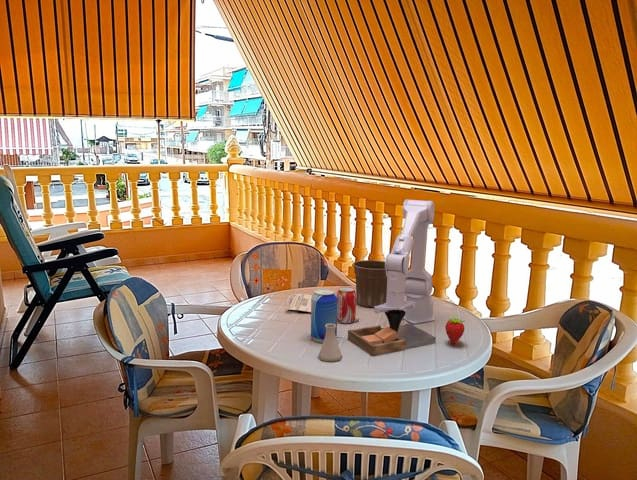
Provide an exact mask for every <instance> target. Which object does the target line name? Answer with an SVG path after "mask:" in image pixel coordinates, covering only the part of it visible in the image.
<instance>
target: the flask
mask: <svg viewBox="0 0 637 480" xmlns="http://www.w3.org/2000/svg"><path fill="white" fill-rule="evenodd" d="M325 327H326V335H325V339H324V342H323V343H322V345H321V348H320V351H319V353H318V355H317V358H318V359H319V360H321V362H322V361H323V362H331V363H332V362H338V361H341V359H342V358H343V354H342V352H341V349H340V346H339V343H338V339H337V336H336V335H335V328H336V325H335V324H326V325H325Z"/></svg>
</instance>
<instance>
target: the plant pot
mask: <svg viewBox="0 0 637 480" xmlns="http://www.w3.org/2000/svg"><path fill="white" fill-rule="evenodd" d="M352 265H353V268H354V269H353V270H354V271H353V272H354V276H355V292H356V305H357V304H358V306H361V307H364V308H369V307H372V309H373V308H374V306H378V305H381V304H384V303H386V297H387V276H386V269H385V261H383V260H382V261H381V260H375V259H373V260H371V259H369V260H368V259H366V260H357V261H355V262H353V263H352Z"/></svg>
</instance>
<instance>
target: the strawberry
mask: <svg viewBox="0 0 637 480" xmlns="http://www.w3.org/2000/svg"><path fill="white" fill-rule="evenodd" d="M458 315H459V314H457V315H456V316H455V317H452V318H449V319H448V320H447V322H446V323H445V333H446V336H447V338H448V339H449V340H450V343H451V344H452V345H455V344H456V343H457V342H459V340H461V339H460V338H462V336H463V335H464V332H465V324H464V323H466V322H465V320H461V319H460V318H457V317H458Z"/></svg>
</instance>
